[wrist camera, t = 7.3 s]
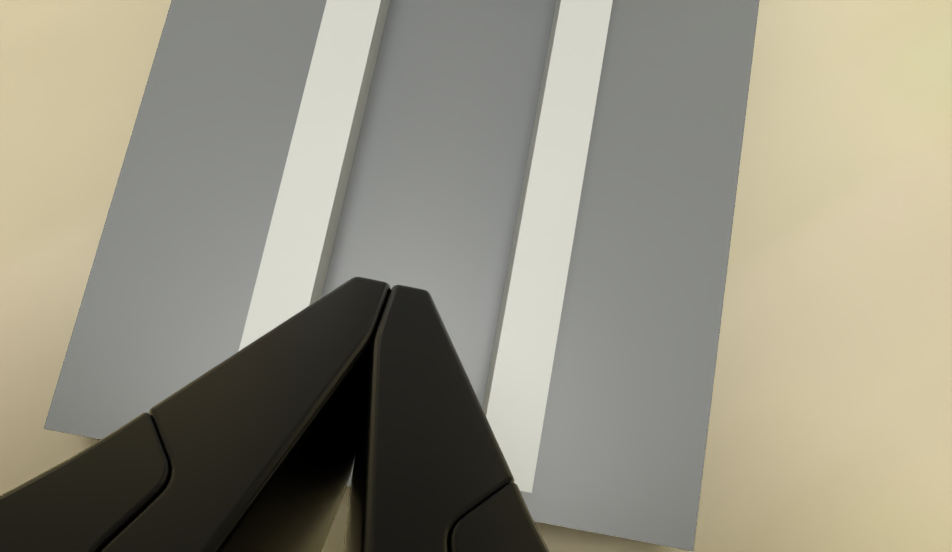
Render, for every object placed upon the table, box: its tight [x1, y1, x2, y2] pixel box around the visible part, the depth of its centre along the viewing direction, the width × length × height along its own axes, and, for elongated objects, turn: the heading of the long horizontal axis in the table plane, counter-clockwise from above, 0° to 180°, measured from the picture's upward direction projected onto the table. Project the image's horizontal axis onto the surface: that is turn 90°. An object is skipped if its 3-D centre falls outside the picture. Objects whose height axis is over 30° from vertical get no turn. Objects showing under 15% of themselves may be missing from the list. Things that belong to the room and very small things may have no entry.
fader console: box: [44, 0, 759, 551], centre depth 17 cm, size 16×12×3 cm
